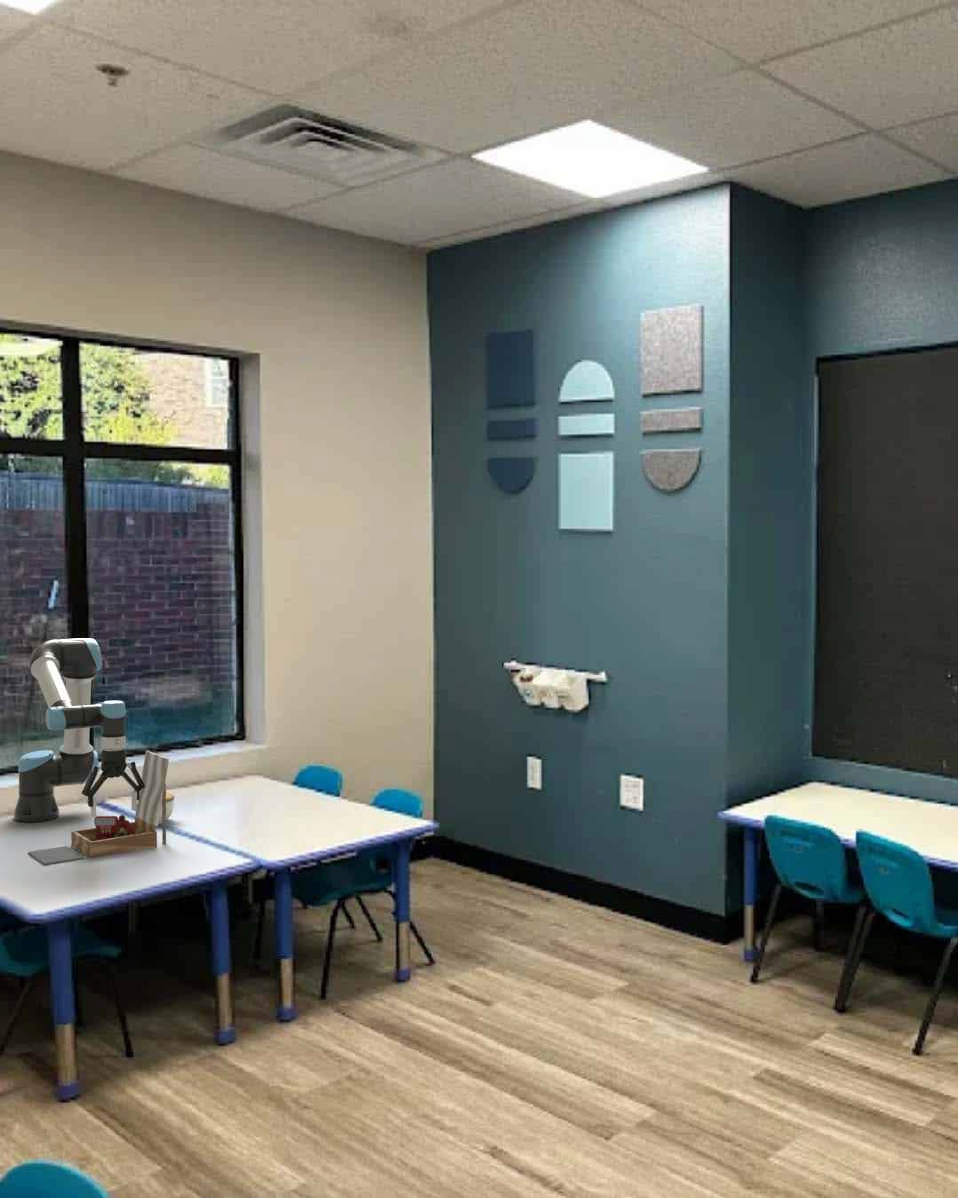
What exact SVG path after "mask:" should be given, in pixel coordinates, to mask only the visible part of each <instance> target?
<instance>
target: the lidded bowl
mask: <svg viewBox="0 0 958 1198" xmlns="http://www.w3.org/2000/svg"><path fill="white" fill-rule="evenodd" d="M174 806H175V794H173V793H171V792H166V822H167V820H168V819H169V818H170V817H171V816H172V814H173V811H174V808H175V807H174ZM159 824H162V805H161V811H160V817H159V823H158V825H159Z"/></svg>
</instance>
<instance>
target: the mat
mask: <svg viewBox="0 0 958 1198" xmlns="http://www.w3.org/2000/svg"><path fill="white" fill-rule="evenodd" d="M27 854H28V855H29V856H30V857H32V858H33V859H35V860H36V861H38V862H39V863H40V864H42V865H43V866H50V865H57V864H60V863H66V862H72V861H78V860H79V861H80V860H84V856H83V855H81V854H79V853H78V852H76V851H75V850H73V849H72V848H71V847H68V846H67V845H63V846H58V847H57V846H56V847H49V848H44V849H38V850H32V851H27Z"/></svg>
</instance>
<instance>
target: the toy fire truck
mask: <svg viewBox="0 0 958 1198" xmlns="http://www.w3.org/2000/svg"><path fill="white" fill-rule="evenodd" d="M130 822H131V821H130V820H129V819H126V816H125V815H124V814H121V815H119V817H118V816H117V815H96V817H94V826H95V828H96V841H98V840H104V839H110V838H117V837H123V836H129V835H134V830H133V828H132V826H131V824H130ZM119 825H120V826H119ZM117 826H118V828H117ZM116 828H117V831H118V833H117V834H116V832H117V831H116ZM126 830H127V833H125V832H126ZM115 834H116V837H115Z"/></svg>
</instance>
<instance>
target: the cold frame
mask: <svg viewBox="0 0 958 1198" xmlns="http://www.w3.org/2000/svg"><path fill="white" fill-rule="evenodd" d="M143 760H144V761H143V765H142V773H141V779H142V781H143V782H144V784H145V788H142V789H141V791H139V793H140V795H139V796H140V799H139V800H137V811H135V814H134V815H135V816H134V821H129V822H130V824H131V826H132V828H133V830H134V835H129V836H123V837H117V838H110V839H104V840H98V841H96V827H90V828H83V829H77V830H71V831H70V832H71V833H70V834H71V835H70V836H71V839H70V842H71V844H70V845H71V847H72V848H74V849H75V850H76V851H78V852H80V853H82V854H83V855H84V856H86V857H88V858H89V859H94V858H100V857H106V856H111V855H112V856H113V855H116V854H117V855H118V854H119V855H120V854H123V853H129V852H135V851H141V850H148V849H152V848H153V849H154V848H157V847H158V832H157V831H156V829H157V827H158V826H159V824H158V823H159V817H160V811H161V805H162V823H161V825H162V829H161V830H162V841H161V843H162V845H166V844H167V821H166V793H167V783H166V778H167V773H168V766H169V760H170V758H168V757H165V756H162V755H159V754H157V753H155V752H152V751H150V750H145V755H144V759H143ZM119 826H120V825H119ZM117 828H118V826H117ZM117 828H116V831H117ZM117 833H118V831H117V832H116V834H117ZM125 833H127V830H126V832H125ZM116 834H115V837H116Z"/></svg>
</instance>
